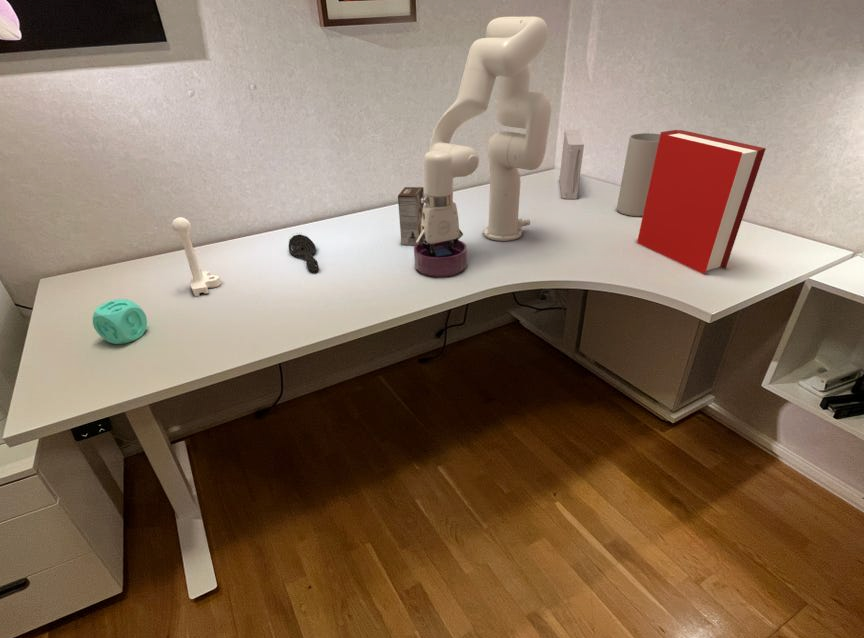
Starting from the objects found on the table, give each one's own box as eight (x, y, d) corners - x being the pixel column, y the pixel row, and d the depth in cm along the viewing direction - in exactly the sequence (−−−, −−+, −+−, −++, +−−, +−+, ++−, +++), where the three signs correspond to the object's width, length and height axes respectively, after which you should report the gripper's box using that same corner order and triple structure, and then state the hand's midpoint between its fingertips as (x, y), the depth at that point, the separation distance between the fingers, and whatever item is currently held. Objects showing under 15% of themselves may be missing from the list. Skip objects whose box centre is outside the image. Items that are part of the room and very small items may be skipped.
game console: (561, 199, 195) (567, 144, 184) (558, 179, 217) (564, 129, 206) (576, 199, 194) (584, 144, 183) (572, 179, 216) (578, 129, 205)
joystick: (195, 279, 146) (172, 212, 134) (222, 276, 148) (202, 208, 136) (191, 297, 137) (166, 226, 126) (219, 292, 139) (198, 222, 127)
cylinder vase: (609, 209, 184) (621, 136, 170) (635, 203, 188) (649, 131, 174) (633, 219, 175) (649, 142, 160) (660, 213, 179) (678, 138, 164)
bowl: (452, 252, 156) (452, 234, 153) (475, 271, 145) (476, 251, 141) (407, 262, 151) (406, 243, 148) (427, 282, 140) (427, 262, 137)
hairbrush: (299, 267, 144) (284, 234, 162) (302, 278, 146) (286, 244, 165) (328, 261, 147) (309, 229, 165) (329, 273, 149) (311, 240, 167)
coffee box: (407, 234, 170) (404, 186, 161) (426, 235, 169) (424, 186, 160) (400, 244, 163) (397, 195, 153) (420, 245, 162) (417, 195, 152)
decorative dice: (126, 325, 126) (113, 296, 121) (152, 329, 124) (140, 300, 119) (100, 342, 120) (86, 312, 115) (127, 346, 118) (114, 317, 113)
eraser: (442, 257, 151) (442, 244, 148) (452, 265, 145) (452, 253, 143) (428, 260, 149) (428, 247, 147) (438, 269, 144) (438, 256, 142)
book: (725, 268, 141) (765, 148, 123) (704, 274, 139) (742, 152, 120) (653, 236, 162) (678, 129, 143) (634, 241, 159) (657, 132, 141)
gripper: (416, 208, 131) (419, 272, 142) (473, 198, 137) (471, 260, 147) (405, 200, 137) (408, 262, 147) (460, 191, 142) (460, 252, 153)
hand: (440, 261), depth 147 cm, fingers closed on eraser, 4 cm apart
